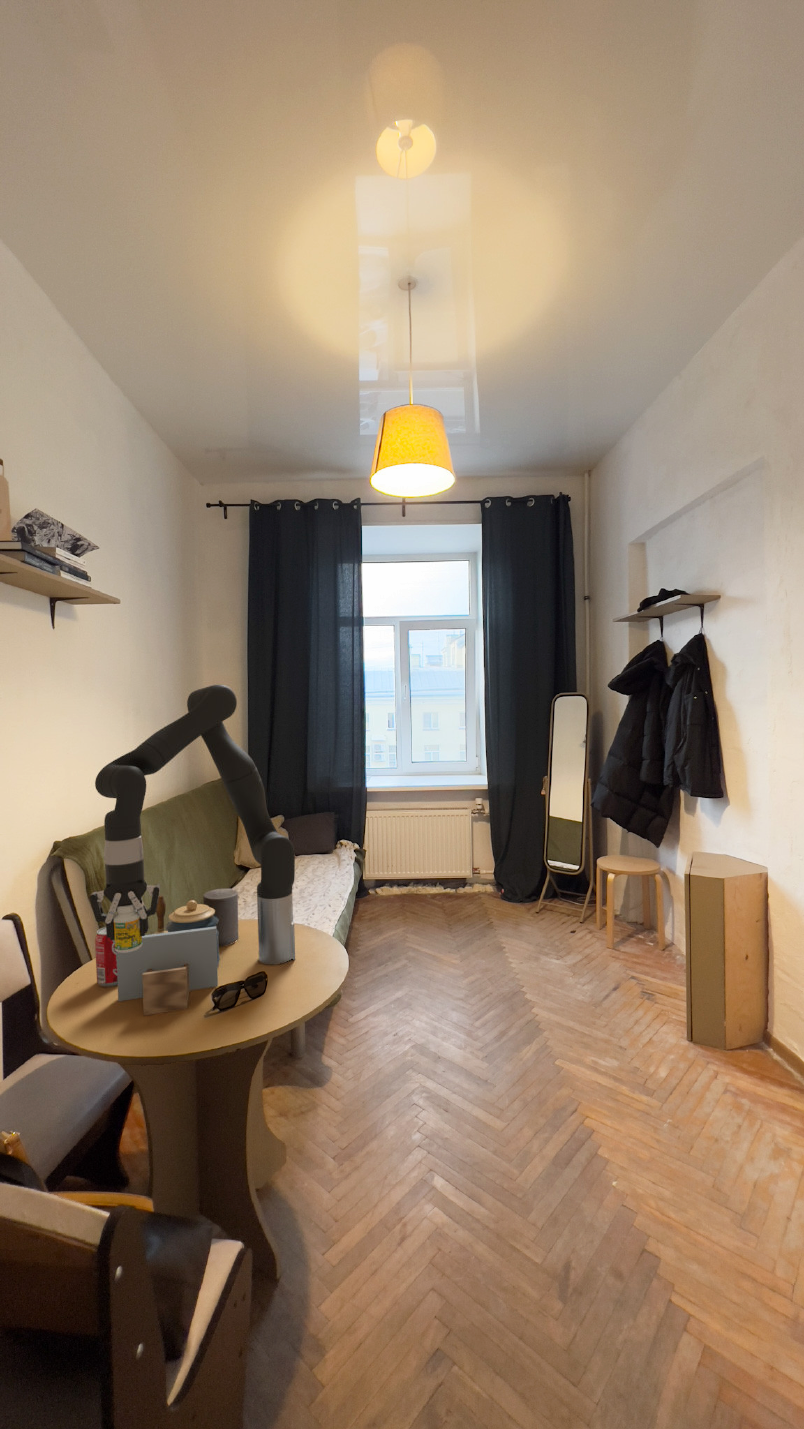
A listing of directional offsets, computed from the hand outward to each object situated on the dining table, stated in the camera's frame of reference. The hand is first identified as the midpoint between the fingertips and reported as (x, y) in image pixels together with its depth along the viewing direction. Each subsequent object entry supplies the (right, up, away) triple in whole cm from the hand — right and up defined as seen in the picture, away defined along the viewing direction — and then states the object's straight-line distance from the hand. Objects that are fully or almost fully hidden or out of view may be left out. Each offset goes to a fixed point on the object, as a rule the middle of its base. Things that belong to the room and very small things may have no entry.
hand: (127, 936), depth 129 cm
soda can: (-13, -19, +20) cm, 31 cm away
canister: (+5, -18, +27) cm, 33 cm away
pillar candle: (+7, -18, +45) cm, 49 cm away
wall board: (+4, -18, +14) cm, 23 cm away
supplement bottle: (0, -3, 0) cm, 3 cm away
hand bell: (-7, -18, +37) cm, 42 cm away
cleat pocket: (+5, -18, +9) cm, 21 cm away
